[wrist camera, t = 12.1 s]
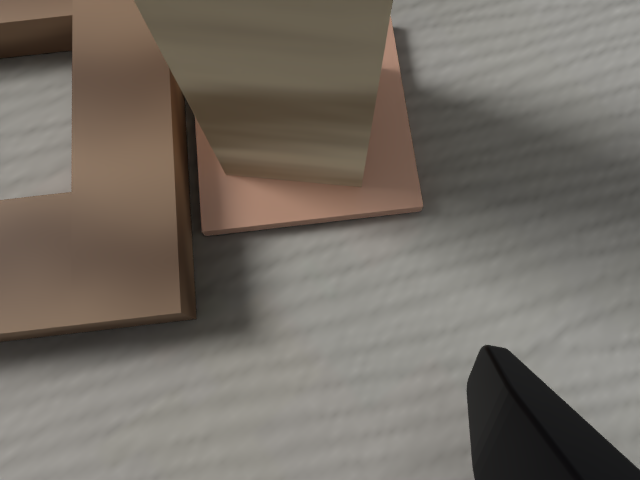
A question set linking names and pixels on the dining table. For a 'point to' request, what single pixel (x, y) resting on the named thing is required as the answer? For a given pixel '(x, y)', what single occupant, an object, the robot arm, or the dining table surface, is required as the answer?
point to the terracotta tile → (316, 198)
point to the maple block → (278, 80)
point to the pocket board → (101, 182)
